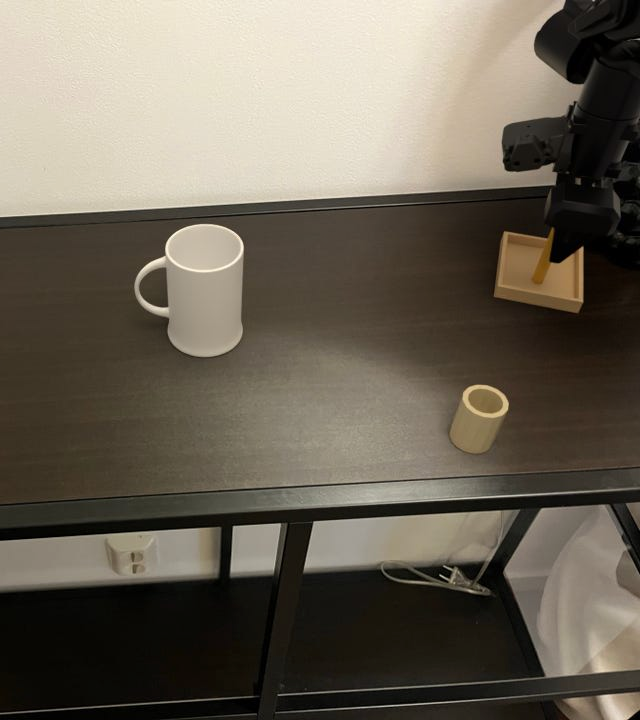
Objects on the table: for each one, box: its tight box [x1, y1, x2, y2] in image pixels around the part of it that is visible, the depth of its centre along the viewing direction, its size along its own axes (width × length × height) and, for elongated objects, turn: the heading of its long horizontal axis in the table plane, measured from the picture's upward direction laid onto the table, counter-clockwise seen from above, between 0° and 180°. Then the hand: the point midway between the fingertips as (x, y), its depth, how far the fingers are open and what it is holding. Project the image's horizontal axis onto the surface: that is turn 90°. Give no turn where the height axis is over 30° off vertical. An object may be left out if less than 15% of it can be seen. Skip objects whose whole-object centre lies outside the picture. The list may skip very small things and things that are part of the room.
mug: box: [134, 223, 245, 358], centre depth 81 cm, size 12×8×12 cm
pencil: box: [532, 227, 554, 284], centre depth 84 cm, size 1×1×10 cm
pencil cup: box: [448, 384, 510, 455], centre depth 71 cm, size 4×4×6 cm
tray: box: [493, 231, 584, 314], centre depth 88 cm, size 11×9×2 cm
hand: (555, 237), depth 83 cm, fingers open, 9 cm apart
